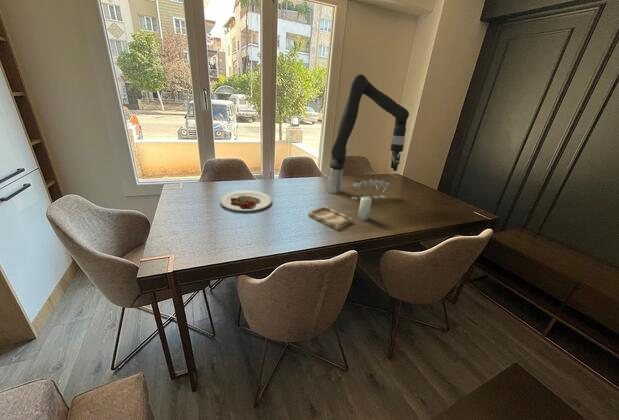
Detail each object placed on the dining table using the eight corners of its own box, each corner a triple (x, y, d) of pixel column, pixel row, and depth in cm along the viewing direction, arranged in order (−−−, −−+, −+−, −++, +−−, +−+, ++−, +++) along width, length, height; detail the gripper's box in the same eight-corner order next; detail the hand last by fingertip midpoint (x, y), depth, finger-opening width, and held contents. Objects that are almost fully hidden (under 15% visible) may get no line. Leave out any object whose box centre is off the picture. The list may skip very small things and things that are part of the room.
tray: (308, 216, 142) (308, 212, 141) (323, 209, 151) (324, 205, 150) (336, 230, 130) (336, 225, 129) (351, 222, 140) (352, 218, 139)
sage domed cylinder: (355, 217, 146) (359, 198, 141) (361, 214, 150) (364, 195, 145) (364, 221, 142) (368, 201, 137) (369, 218, 146) (373, 199, 141)
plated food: (254, 189, 171) (254, 185, 170) (281, 205, 153) (281, 200, 151) (211, 199, 152) (210, 194, 150) (237, 218, 133) (236, 212, 131)
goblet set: (383, 195, 184) (387, 177, 178) (387, 198, 179) (392, 180, 173) (348, 196, 175) (351, 178, 169) (352, 199, 170) (355, 181, 164)
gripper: (389, 142, 163) (385, 167, 169) (393, 144, 150) (389, 171, 155) (401, 142, 162) (397, 167, 168) (406, 144, 149) (402, 172, 155)
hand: (393, 169), depth 162 cm, fingers open, 8 cm apart
